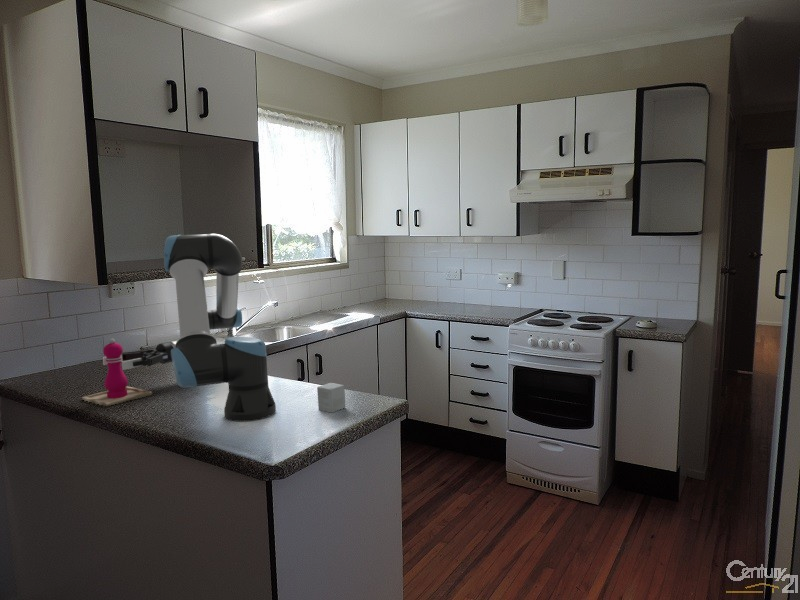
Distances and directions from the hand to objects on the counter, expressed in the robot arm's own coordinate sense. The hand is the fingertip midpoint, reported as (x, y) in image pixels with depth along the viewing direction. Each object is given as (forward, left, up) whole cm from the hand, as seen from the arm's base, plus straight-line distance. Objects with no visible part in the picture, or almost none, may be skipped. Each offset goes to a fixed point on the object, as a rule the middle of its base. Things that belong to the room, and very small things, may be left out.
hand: (112, 363), depth 202 cm
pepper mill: (0, 0, -12) cm, 12 cm away
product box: (-58, -54, -12) cm, 81 cm away
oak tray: (0, 0, -12) cm, 12 cm away
